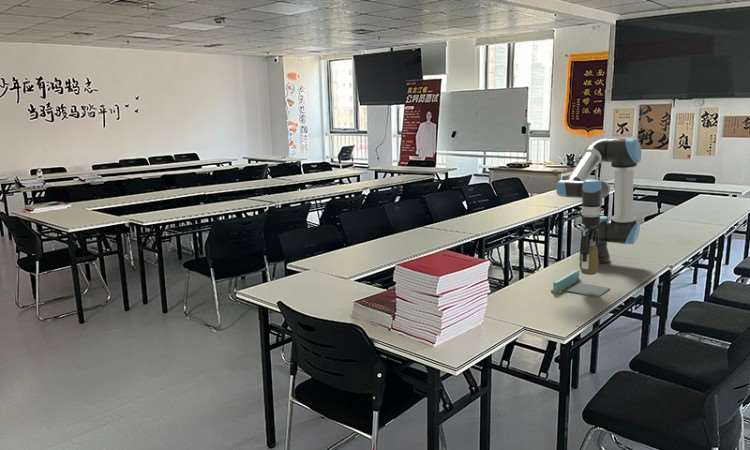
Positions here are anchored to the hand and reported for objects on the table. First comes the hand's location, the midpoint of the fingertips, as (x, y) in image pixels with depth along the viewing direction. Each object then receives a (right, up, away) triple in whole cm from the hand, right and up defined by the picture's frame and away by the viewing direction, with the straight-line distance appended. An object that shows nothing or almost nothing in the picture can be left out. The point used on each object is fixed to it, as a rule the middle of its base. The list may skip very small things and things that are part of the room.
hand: (588, 266), depth 245 cm
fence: (-7, -10, +9) cm, 15 cm away
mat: (+1, -11, +2) cm, 11 cm away
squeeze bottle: (0, -3, +1) cm, 3 cm away
